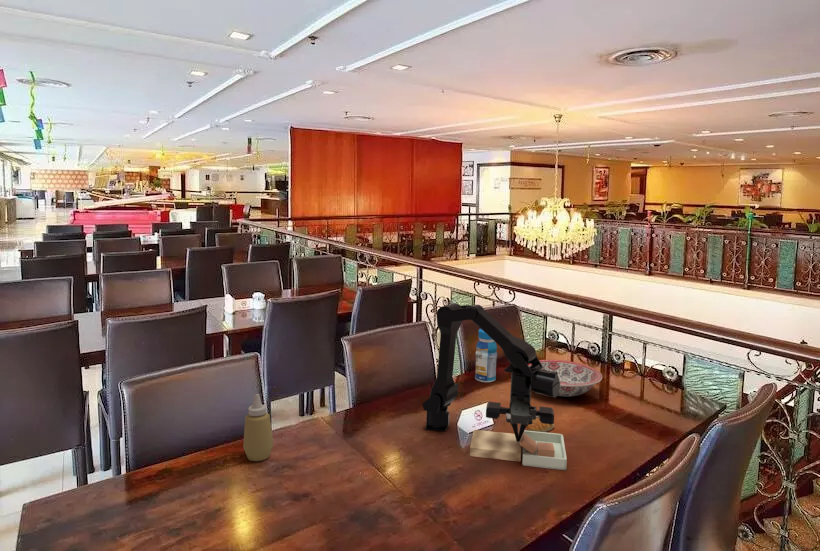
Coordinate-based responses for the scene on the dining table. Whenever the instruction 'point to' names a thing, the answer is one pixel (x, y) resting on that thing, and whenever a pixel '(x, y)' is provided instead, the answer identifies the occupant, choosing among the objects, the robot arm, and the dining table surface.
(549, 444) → the tile
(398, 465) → the dining table surface
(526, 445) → the tile
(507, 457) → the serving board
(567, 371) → the ceramic bowl
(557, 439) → the tray
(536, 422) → the pastry
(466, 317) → the robot arm
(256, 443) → the squeeze bottle
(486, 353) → the beverage bottle
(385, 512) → the dining table surface
